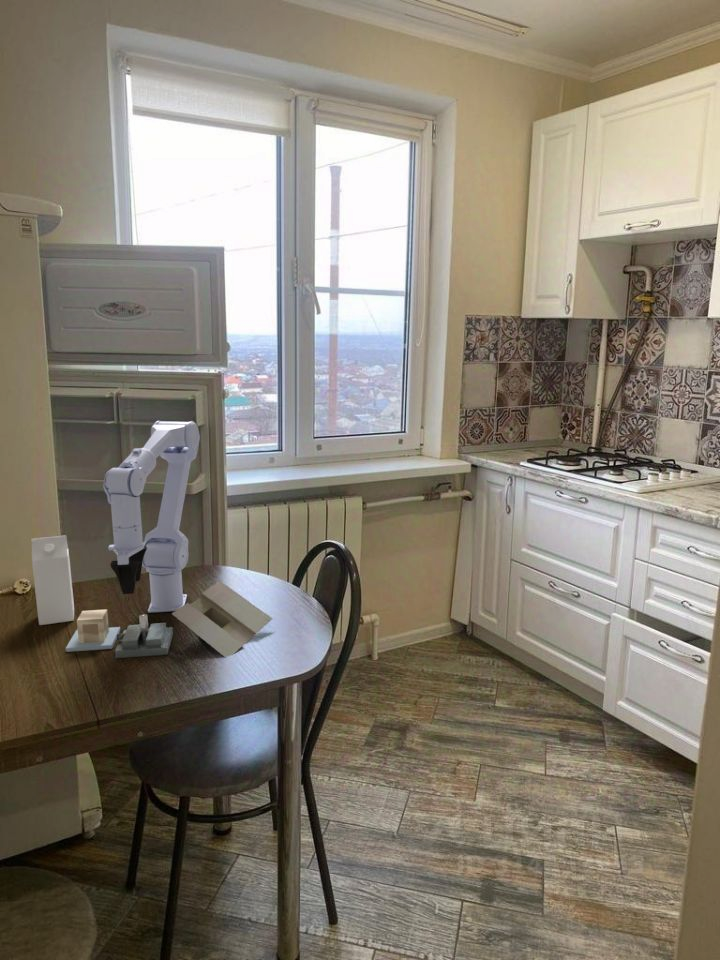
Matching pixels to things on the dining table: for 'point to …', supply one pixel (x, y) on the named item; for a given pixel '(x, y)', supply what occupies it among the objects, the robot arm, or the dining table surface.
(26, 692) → the dining table surface
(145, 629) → the vise
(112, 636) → the mat
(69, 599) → the milk carton
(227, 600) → the beige slotted board
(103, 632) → the wooden cube
